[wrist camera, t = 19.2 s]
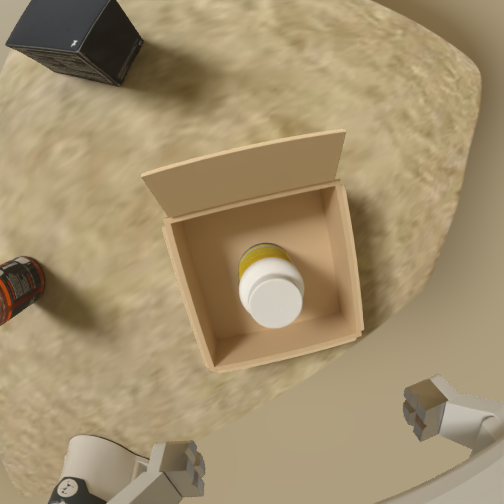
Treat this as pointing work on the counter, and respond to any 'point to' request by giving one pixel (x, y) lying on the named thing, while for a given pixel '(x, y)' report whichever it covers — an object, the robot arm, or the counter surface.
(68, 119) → the counter surface
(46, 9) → the small box
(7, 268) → the supplement bottle
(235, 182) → the flap
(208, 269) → the carton
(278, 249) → the supplement bottle
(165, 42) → the counter surface
